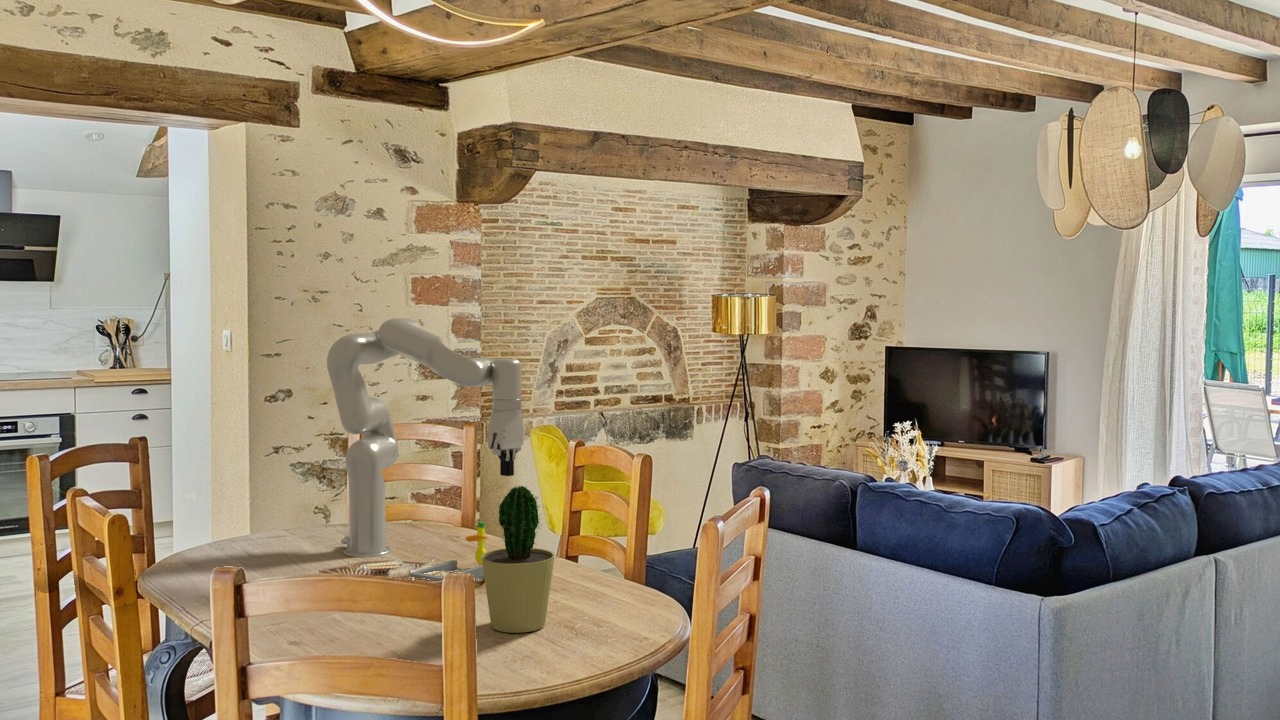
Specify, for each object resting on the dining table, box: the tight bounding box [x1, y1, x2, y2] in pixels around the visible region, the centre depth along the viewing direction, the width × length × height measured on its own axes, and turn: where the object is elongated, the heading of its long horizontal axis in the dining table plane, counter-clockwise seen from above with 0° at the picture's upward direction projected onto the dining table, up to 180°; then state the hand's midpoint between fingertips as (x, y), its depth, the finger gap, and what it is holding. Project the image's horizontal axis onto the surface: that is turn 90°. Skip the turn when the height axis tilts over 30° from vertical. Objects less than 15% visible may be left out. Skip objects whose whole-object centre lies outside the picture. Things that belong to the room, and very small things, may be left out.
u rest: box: [408, 559, 484, 583], centre depth 258 cm, size 12×16×3 cm
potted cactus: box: [481, 485, 555, 634], centre depth 222 cm, size 15×15×30 cm
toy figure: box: [464, 521, 488, 567], centre depth 271 cm, size 7×4×12 cm, turn 120°
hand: (507, 475), depth 278 cm, fingers closed
